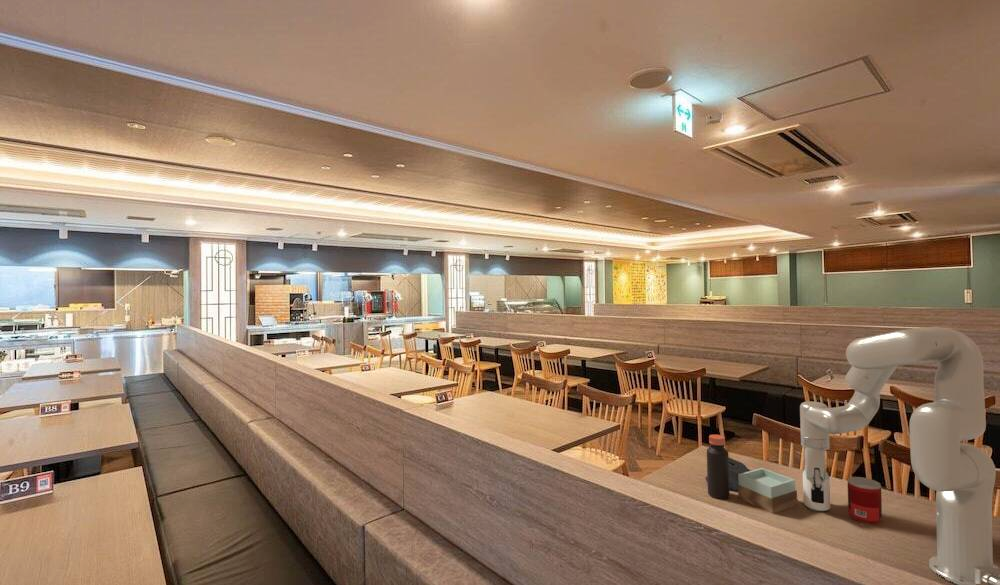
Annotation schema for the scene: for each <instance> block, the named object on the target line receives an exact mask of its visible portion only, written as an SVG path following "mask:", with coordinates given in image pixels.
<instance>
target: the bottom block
mask: <svg viewBox="0 0 1000 585" xmlns="http://www.w3.org/2000/svg"><path fill="white" fill-rule="evenodd" d="M737 495H738V500H741V501H744V502H746V503H748V504H750V505H752V506H755V507H757V508H759V509H761V510H764V511H765V512H768V513H770V514H776V513H779V512H782V511H784V510H787V509H790V508H792V507H796V506H797V505H798V490H796V491H793V492H790V493H787V494H784V495H781V496H778V497H774V498H769V497H767V496H764V495H762V494H760V493H757V492H755V491H752V490H750V489H748V488H745V487H743V486H741V485H738V492H737Z"/></svg>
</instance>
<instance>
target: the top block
mask: <svg viewBox="0 0 1000 585" xmlns="http://www.w3.org/2000/svg"><path fill="white" fill-rule="evenodd" d="M738 479H739V485H741V486H743V487H745V488H748V489H750V490H752V491H755V492H757V493H760V494H762V495H764V496H767V497H769V498H774V497H778V496H781V495H784V494H787V493H790V492H793V491H797V490H796V479H793V478H791V477H789V476H786V475H782V474H780V473H777V472H775V471H772V470H769V469H766V468H764V467H760V468H756V469H753V470H751V471H748V472H745V473H741V474H738Z"/></svg>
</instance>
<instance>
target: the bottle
mask: <svg viewBox="0 0 1000 585" xmlns="http://www.w3.org/2000/svg"><path fill="white" fill-rule="evenodd" d="M708 441H709V442H708V443H709V447H708V448H706V472H707V474H706V475H707V476H706V477H707V480H708V482H707V493H708V495H709V496H710V497H711V498H714V499H719V500H727V499H728V498H730V496H731V495H730V491H731V490H730V489H729V458H730V457H729V452H728V450H727V449H726V448H725V446H726V437H725V436H723V435H721V434H710V435H709V436H708Z"/></svg>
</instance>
